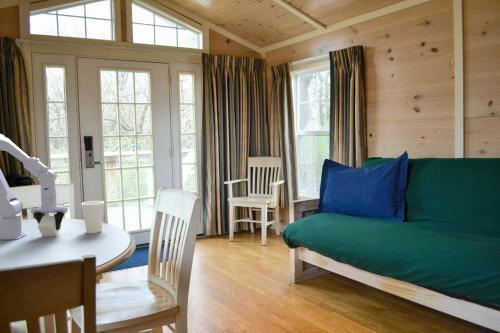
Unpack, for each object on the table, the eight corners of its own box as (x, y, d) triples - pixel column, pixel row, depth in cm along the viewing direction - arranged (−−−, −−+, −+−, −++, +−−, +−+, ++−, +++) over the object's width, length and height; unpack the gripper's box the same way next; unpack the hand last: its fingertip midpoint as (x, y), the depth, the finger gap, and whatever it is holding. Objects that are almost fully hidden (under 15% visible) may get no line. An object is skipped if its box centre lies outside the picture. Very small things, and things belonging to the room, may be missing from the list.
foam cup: (97, 234, 179) (96, 204, 178) (78, 233, 181) (76, 204, 179) (109, 229, 188) (108, 201, 187) (90, 228, 190) (89, 200, 189)
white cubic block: (42, 236, 176) (37, 226, 172) (47, 225, 181) (42, 215, 177) (56, 236, 176) (52, 226, 172) (61, 225, 181) (57, 215, 177)
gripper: (26, 199, 171) (28, 232, 173) (61, 199, 172) (63, 231, 173) (35, 197, 178) (36, 228, 180) (68, 196, 179) (70, 227, 180)
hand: (50, 229), depth 177 cm, fingers closed on white cubic block, 6 cm apart
